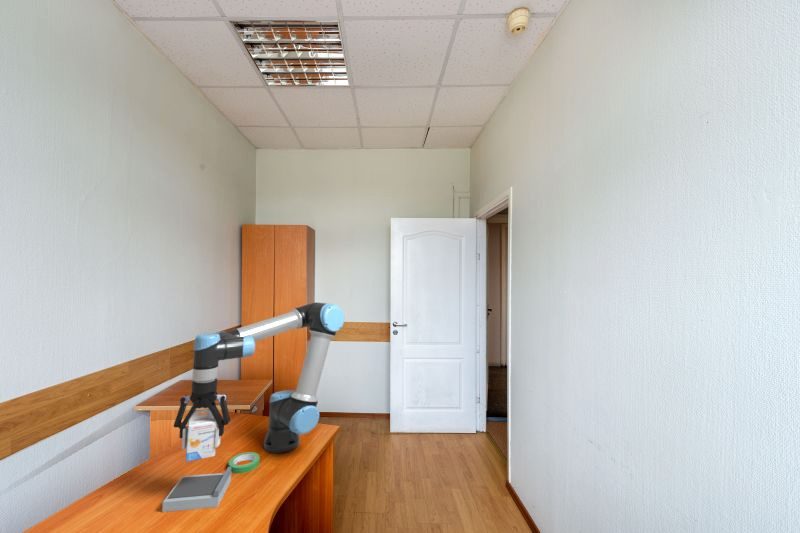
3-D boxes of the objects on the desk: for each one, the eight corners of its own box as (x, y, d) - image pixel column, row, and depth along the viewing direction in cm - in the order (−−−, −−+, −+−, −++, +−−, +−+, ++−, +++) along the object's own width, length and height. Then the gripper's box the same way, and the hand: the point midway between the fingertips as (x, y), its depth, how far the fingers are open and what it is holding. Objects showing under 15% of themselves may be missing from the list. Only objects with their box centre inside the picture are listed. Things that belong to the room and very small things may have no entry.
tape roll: (243, 477, 124) (244, 469, 124) (221, 470, 128) (222, 463, 128) (265, 462, 134) (265, 455, 134) (244, 456, 138) (244, 449, 138)
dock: (230, 480, 121) (231, 466, 121) (217, 506, 107) (218, 490, 107) (182, 484, 118) (183, 470, 118) (162, 512, 104) (163, 495, 104)
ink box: (185, 462, 108) (188, 416, 109) (185, 455, 112) (188, 411, 113) (215, 456, 113) (218, 412, 114) (214, 449, 117) (216, 407, 118)
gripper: (242, 375, 120) (239, 439, 119) (174, 377, 116) (170, 443, 115) (236, 382, 112) (233, 449, 111) (163, 383, 108) (159, 454, 107)
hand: (201, 446), depth 113 cm, fingers closed on ink box, 9 cm apart
